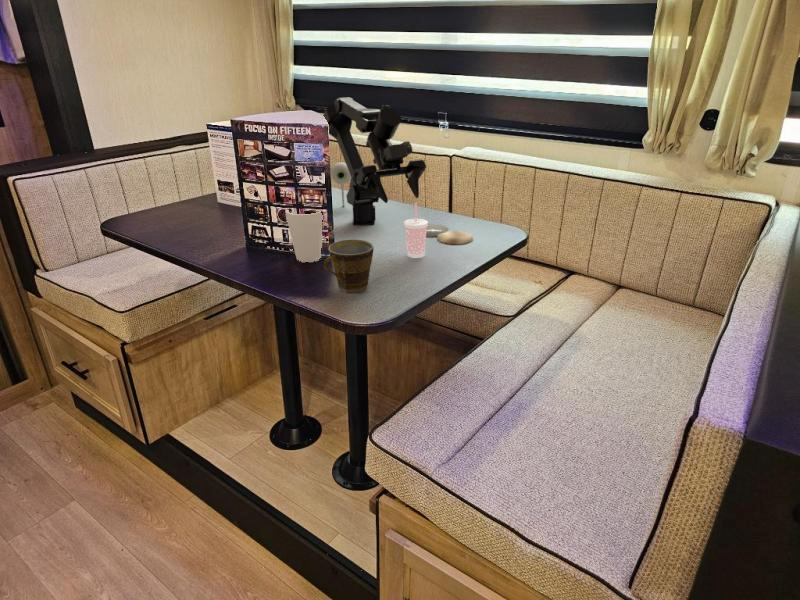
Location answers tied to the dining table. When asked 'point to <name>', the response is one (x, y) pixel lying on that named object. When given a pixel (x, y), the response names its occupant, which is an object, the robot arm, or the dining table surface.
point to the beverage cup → (415, 236)
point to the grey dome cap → (435, 230)
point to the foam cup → (306, 235)
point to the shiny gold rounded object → (455, 237)
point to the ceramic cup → (351, 264)
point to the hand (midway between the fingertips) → (402, 199)
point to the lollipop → (341, 175)
